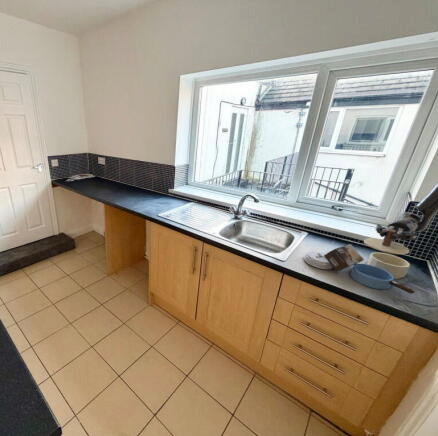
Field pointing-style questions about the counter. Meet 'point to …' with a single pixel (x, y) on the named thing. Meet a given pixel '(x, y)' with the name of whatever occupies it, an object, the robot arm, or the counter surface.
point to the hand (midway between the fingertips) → (387, 236)
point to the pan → (375, 277)
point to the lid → (317, 259)
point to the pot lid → (386, 244)
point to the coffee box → (343, 257)
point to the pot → (389, 264)
